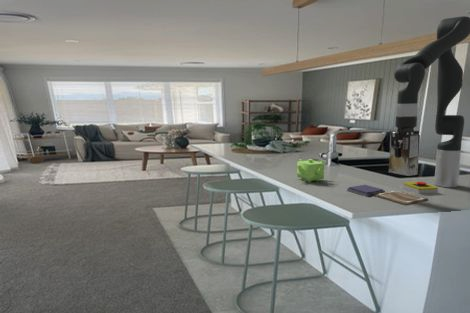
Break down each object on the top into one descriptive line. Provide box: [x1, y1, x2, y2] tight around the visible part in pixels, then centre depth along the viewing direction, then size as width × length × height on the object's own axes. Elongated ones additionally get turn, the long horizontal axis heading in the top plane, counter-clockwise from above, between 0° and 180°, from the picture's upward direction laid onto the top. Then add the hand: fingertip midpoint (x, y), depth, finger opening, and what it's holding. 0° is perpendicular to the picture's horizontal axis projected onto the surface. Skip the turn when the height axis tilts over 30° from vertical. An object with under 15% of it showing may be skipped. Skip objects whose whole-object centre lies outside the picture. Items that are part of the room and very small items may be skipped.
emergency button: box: [399, 181, 441, 196], centre depth 140 cm, size 9×4×15 cm
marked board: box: [374, 190, 429, 206], centre depth 129 cm, size 14×14×1 cm
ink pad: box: [346, 184, 386, 197], centre depth 139 cm, size 11×11×2 cm
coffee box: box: [388, 134, 421, 177], centre depth 126 cm, size 9×6×16 cm
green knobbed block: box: [296, 158, 326, 183], centre depth 163 cm, size 15×14×11 cm
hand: (403, 156), depth 127 cm, fingers closed on coffee box, 6 cm apart
